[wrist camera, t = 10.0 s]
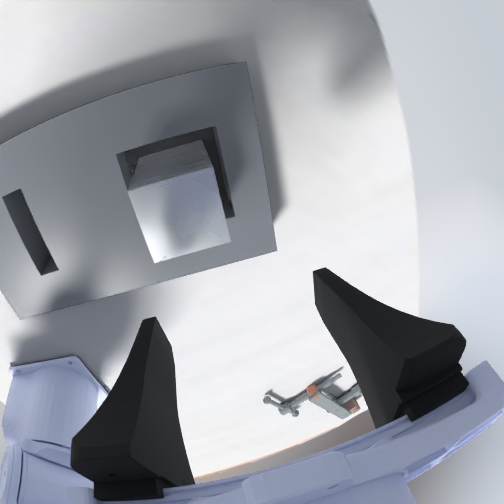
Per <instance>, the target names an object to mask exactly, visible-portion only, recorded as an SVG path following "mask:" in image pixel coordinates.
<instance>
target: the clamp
mask: <svg viewBox="0 0 504 504" xmlns="http://www.w3.org/2000/svg"><path fill="white" fill-rule="evenodd" d="M340 377H342V376H341V374H340V373H339V374H337V375H336V376H334V377H332V378H329V379H328V380H326V381H324V382H323V383H321V384H320V385H318V386H317V385H316V384H312V385H310V386H308V387H307V388H306V391H307V393H305V394H303V395H302V396H300V397H298V398H297V399H295V400H293V401H292V402H290V403H289V402H286V403H284V404H283V405H281V404H279V403H277V402H275V401H273V400H271V398H270V397H269V396H266V397H264V399H263V402H264V403H265V404H268V403H269V404H271V405H273V406H276V407H278V410H279V412H280V413H281V414H282V415H285V414H287V413H291V414H292V415H293V417H297V416H298V415H299V411H298V410H293V407H295V406H297V405H299V404H300V403H302V402H304V401H305V400H307V399H309V401H311V402H313V403H314V404H316V405H318V406H320V407H321V408H323V409H325V410H326V411H327V412H328V413H329V412H330V413H332V414H334V415H336V416H337V417H339V418H341V419H344V418H346V417H348V416H349V415H351V414H352V413H353V414H354V413H355V412H357V411H358V410H360V407H359V405H358V403H357V401H356V400H354V399H353V397H354V396H359V395H360V394H362V392H361V389H360V387H359V385H358V384H357V385H356V386H354V387H353V388H351V391H350V392H348V393H347V394H345V395H343V396H342V397H340V398H339V399H338V398H336V397H335V396H333V395H332V394H325V395H324V394H322V393H321V391H322V390H323V389H325V388H327V387H328V386H330V385H331V384H333V382H335V381H336V380H337V379H339V378H340Z"/></svg>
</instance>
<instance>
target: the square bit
mask: <svg viewBox="0 0 504 504" xmlns="http://www.w3.org/2000/svg"><path fill="white" fill-rule="evenodd" d="M128 194H129V197H130V200H131V203H132V206H133V208H134V211H135V214H136V217H137V219H138V222H139V225H140V227H141V230H142V233H143V235H144V238H145V240H146V243H147V245H148V248H149V251H150V253H151V256H152V258H153V260H154V263H157V262H160V261H164V260H168V259H171V258H175V257H178V256H182V255H185V254H189V253H193V252H196V251H200V250H203V249H207V248H211V247H214V246H218V245H222V244H225V243H229V242H231V240H230V235H229V231H228V227H227V223H226V219H225V215H224V210H223V206H222V202H221V198H220V194H219V189H218V185H217V181H216V177H215V172H214V168H213V165H212V163H211V160H210V158H209V156H208V153H207V151H206V149H205V146H204V144H203V141H202V140H199V141H195V142H191V143H188V144H184V145H180V146H177V147H173V148H170V149H166V150H163V151H159V152H156V153H153V154H149V155H146V156H143V157H140V158H139V160H138V163H137V166H136V168H135V171H134V174H133V177H132V180H131V183H130V186H129V189H128Z"/></svg>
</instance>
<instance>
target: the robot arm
mask: <svg viewBox="0 0 504 504" xmlns="http://www.w3.org/2000/svg"><path fill="white" fill-rule="evenodd" d="M313 280H314V294H315V305H316V307H317V309H318V312H319V314H320V316H321V318H322V320H323V322H324V324H325V326H326V327H327V329H328V330H329V332H330V334H331V335H332V337H333V339H334V340H335V342H336V343H337V345H338V347H339V348H340V350H341V351H342V353H343V355H344V356H345V358H346V360H347V361H348V363H349V365H350V367H351V369H352V371H353V374H354V376H355V378H356V380H357V382H358V385H359V387H360V389H361V392H362V394H363V396H364V399H365V401H366V404H367V406H368V409H369V411H370V414H371V416H372V419H373V422H374V425H375V428H376V430H373V431H372V432H369V433H367V434H364V435H362V436H360V437H357V438H355V439H353V440H350V441H348V442H345V443H343V444H340V445H338V446H335V447H332V448H330V449H327V450H324V451H321V452H319V453H316V454H313V455H310V456H307V457H304V458H301V459H298V460H295V461H292V462H289V463H285V464H282V465H278V466H275V467H271V468H268V469H264V470H260V471H256V472H253V473H249V474H244V475H240V476H236V477H231V478H226V479H222V480H217V481H211V482H206V483H200V484H195V482H194V478H193V475H192V472H191V469H190V465H189V461H188V458H187V454H186V450H185V446H184V442H183V437H182V433H181V428H180V423H179V418H178V410H177V397H176V378H175V364H174V358H173V352H172V346H171V344H170V342H169V341H168V339H167V337H166V335H165V333H164V331H163V329H162V328H161V326H160V324H159V322H158V320H157V318H156V317H152V318H148V319H144V320H143V321H142V323H141V326H140V328H139V331H138V334H137V336H136V339H135V341H134V344H133V346H132V349H131V351H130V354H129V356H128V358H127V361H126V363H125V365H124V367H123V369H122V371H121V373H120V375H119V377H118V379H117V381H116V383H115V384H114V386H113V388H112V390H111V391H110V393H109V394H108V393H107V392H106V391H105V389H104V388H103V387H102V386H101V385H100V384H99V382H98V381H97V380H96V379H95V378H94V376H93V375H92V374H91V373H90V372H89V370H88V369H87V368H86V367H85V365H84V364H83V363H82V362H81V360H80V359H79V358H78V357H76V356H70V357H65V358H60V359H54V360H49V361H43V362H38V363H32V364H26V365H20V366H14V367H10V368H9V372H10V374H11V375H12V376H13V379H12V382H11V386H10V390H9V393H8V397H7V401H6V406H5V410H4V414H3V420H2V427H3V433H4V437H5V440H6V442H7V444H8V446H9V447H7V449H6V451H5V454H4V457H3V462H2V466H1V472H0V504H417V503H416V501H415V499H414V497H413V495H412V493H411V491H410V489H409V487H408V485H407V483H406V482H408V481H410V480H412V479H413V478H415V477H417V476H419V475H420V474H422V473H423V472H425V471H427V470H428V469H430V468H432V467H433V466H435V465H436V464H438V463H439V462H441V461H442V460H444V459H445V458H447V457H448V456H450V455H451V454H453V453H454V452H456V451H457V450H458V449H460V448H461V447H463V446H464V445H465V444H467V443H468V442H469V441H471V440H472V439H474V438H475V437H476V436H478V435H479V434H480V433H482V432H483V431H484V430H486V429H487V428H488V427H490V426H491V425H492V424H493V423H494V422H495V421H496V420H497V419H498V418H499V416H500V415H501V414H502V413H503V412H504V382H503V381H502V380H501V378H500V377H499V376H498V375H497V373H496V372H495V371H494V369H493V368H492V367H491V365H490V364H489V363H488V362H487V361H483V362H482V363H481V364H479V365H478V366H476V367H475V368H473V369H472V370H470V371H469V372H468V373H467V374H466V375H465V376H463V374H462V373H461V371H462V367H461V365H460V364H459V363H458V362H459V360H460V358H461V356H462V353H463V351H464V349H465V346H466V339H465V338H464V337H463V335H462V334H461V333H460V332H459V330H458V329H457V328H455V326H454V325H452V324H446V323H440V322H435V321H431V320H427V319H423V318H419V317H416V316H413V315H410V314H407V313H404V312H402V311H399V310H397V309H394V308H392V307H390V306H387V305H385V304H383V303H381V302H379V301H377V300H375V299H373V298H372V297H370V296H368V295H366V294H365V293H363V292H361V291H360V290H358V289H357V288H355V287H353V286H352V285H350V284H349V283H347V282H346V281H344V280H343V279H342V278H340V277H339V276H337V275H336V274H334V273H333V272H332V271H330V270H329V269H327V268H326V267H325V268H322V269H319V270H315V271H313ZM99 405H101V406H100V407H99V409H98V410H97V406H99Z"/></svg>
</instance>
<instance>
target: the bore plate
mask: <svg viewBox="0 0 504 504" xmlns="http://www.w3.org/2000/svg"><path fill="white" fill-rule="evenodd" d="M209 127H213V131H214V136H215V140H216V145H217V150H218V154H219V159H220V164H221V168H222V173H223V178H224V182H225V187H226V191H227V196H228V200H229V201H225V202H222V206H223V210H224V215H225V219H226V223H227V227H228V231H229V235H230V240H231V242H229V243H225V244H222V245H218V246H214V247H211V248H207V249H203V250H200V251H196V252H193V253H189V254H185V255H182V256H178V257H175V258H171V259H168V260H164V261H160V262H157V263H154V260H153V258H152V256H151V253H150V251H149V248H148V245H147V243H146V240H145V238H144V235H143V233H142V230H141V227H140V225H139V222H138V219H137V217H136V214H135V211H134V208H133V206H132V203H131V200H130V197H129V194H128V189H129V186H130V183H131V180H132V174H131V171H130V168H129V165H128V161H127V158H126V155H125V152H124V151H127V150H130V149H133V148H137V147H140V146H143V145H146V144H150V143H153V142H157V141H160V140H163V139H167V138H171V137H174V136H178V135H182V134H185V133H189V132H193V131H197V130H201V129H205V128H209ZM20 188H21V190H22V193H23V195H24V198H25V200H26V202H27V205H28V207H29V209H30V212H31V214H32V216H33V218H34V221H35V223H36V225H37V227H38V229H39V231H40V233H41V235H42V238H43V240H44V242H45V244H46V246H47V248H48V250H49V252H50V254H51V255H52V256H50V254H49V252H48V250H47V248H46V246H45V244H44V242H43V240H42V238H41V236H40V233H39V231H38V229H37V227H36V225H35V223H34V221H33V218H32V216H31V214H30V212H29V209H28V207H27V205H26V203H25V200H24V198H23V195H22V193H21V191H20ZM274 251H277V247H276V240H275V233H274V226H273V220H272V213H271V207H270V200H269V194H268V187H267V181H266V175H265V169H264V162H263V156H262V150H261V144H260V138H259V132H258V126H257V120H256V114H255V109H254V103H253V97H252V91H251V86H250V80H249V74H248V69H247V63H246V62H240V63H233V64H228V65H222V66H217V67H212V68H207V69H203V70H198V71H194V72H189V73H185V74H181V75H177V76H173V77H169V78H166V79H162V80H158V81H155V82H151V83H148V84H144V85H141V86H138V87H134V88H131V89H128V90H125V91H122V92H119V93H116V94H113V95H110V96H107V97H105V98H102V99H99V100H96V101H94V102H91V103H88V104H86V105H83V106H81V107H78V108H76V109H73V110H71V111H68V112H66V113H64V114H61V115H59V116H57V117H54V118H52V119H50V120H48V121H46V122H43V123H41V124H39V125H37V126H35V127H33V128H31V129H29V130H27V131H25V132H23V133H21V134H19V135H17V136H15V137H13V138H11V139H9V140H7V141H6V142H4V143H2V144H0V290H1V292H2V293H3V295H4V297H5V298H6V300H7V301H8V303H9V304H10V306H11V307H12V309H13V310H14V312H15V313H16V315H17V316H18V317H19V319H20V320H21V319H25V318H28V317H32V316H36V315H40V314H44V313H47V312H51V311H55V310H59V309H63V308H66V307H70V306H74V305H78V304H81V303H85V302H89V301H93V300H97V299H100V298H104V297H108V296H112V295H115V294H119V293H123V292H127V291H130V290H134V289H138V288H142V287H145V286H149V285H153V284H156V283H160V282H164V281H168V280H171V279H175V278H179V277H182V276H186V275H190V274H194V273H197V272H201V271H205V270H208V269H212V268H216V267H219V266H223V265H227V264H230V263H234V262H238V261H241V260H245V259H249V258H252V257H256V256H260V255H263V254H267V253H271V252H274Z"/></svg>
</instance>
